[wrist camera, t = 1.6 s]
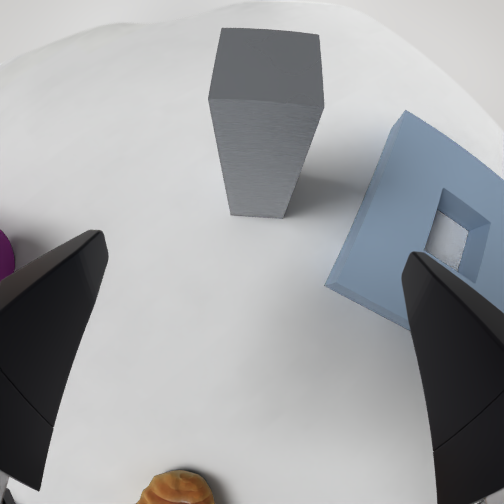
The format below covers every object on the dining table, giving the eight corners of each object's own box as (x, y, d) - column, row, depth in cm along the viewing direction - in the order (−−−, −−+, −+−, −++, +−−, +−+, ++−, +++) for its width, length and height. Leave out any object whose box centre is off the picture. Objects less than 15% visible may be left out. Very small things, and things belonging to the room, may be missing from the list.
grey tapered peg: (282, 218, 22) (324, 107, 9) (230, 215, 22) (208, 98, 9) (284, 171, 22) (318, 34, 9) (235, 167, 22) (221, 27, 9)
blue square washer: (468, 361, 20) (491, 366, 17) (324, 285, 21) (336, 282, 18) (510, 213, 22) (530, 204, 19) (391, 128, 23) (405, 109, 20)
